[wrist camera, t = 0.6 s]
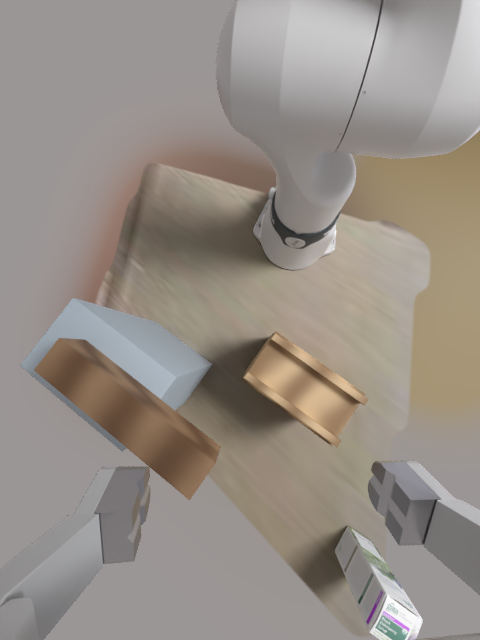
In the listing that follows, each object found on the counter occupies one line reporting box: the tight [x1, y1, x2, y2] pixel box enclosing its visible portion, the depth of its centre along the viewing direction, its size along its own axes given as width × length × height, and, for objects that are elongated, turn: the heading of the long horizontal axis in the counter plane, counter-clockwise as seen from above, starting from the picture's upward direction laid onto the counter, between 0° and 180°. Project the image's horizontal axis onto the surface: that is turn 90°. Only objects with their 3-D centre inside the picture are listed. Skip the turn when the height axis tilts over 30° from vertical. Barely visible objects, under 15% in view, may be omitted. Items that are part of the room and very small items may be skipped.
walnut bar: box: [34, 338, 220, 500], centre depth 26 cm, size 20×4×4 cm, turn 54°
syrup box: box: [335, 526, 423, 640], centre depth 41 cm, size 6×6×14 cm
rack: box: [242, 332, 368, 447], centre depth 44 cm, size 16×9×18 cm, turn 54°
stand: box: [20, 298, 212, 451], centre depth 41 cm, size 16×10×26 cm, turn 54°
